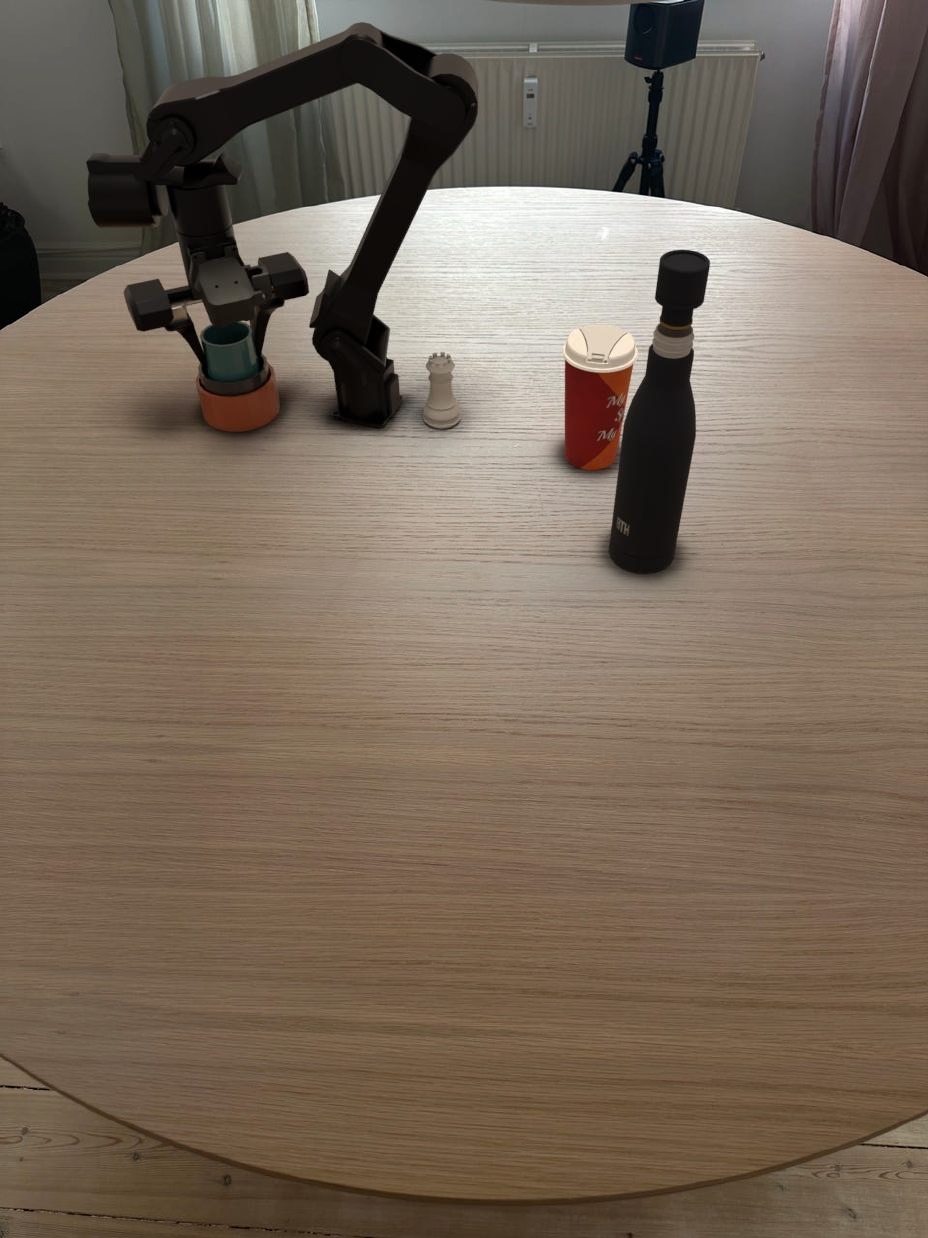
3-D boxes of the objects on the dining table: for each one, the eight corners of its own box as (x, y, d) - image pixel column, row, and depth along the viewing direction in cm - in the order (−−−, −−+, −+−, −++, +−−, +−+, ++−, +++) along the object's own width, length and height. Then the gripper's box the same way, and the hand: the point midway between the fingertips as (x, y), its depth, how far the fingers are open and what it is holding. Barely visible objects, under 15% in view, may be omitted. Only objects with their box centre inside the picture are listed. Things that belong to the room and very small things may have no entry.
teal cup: (203, 400, 113) (189, 341, 107) (229, 374, 117) (217, 316, 111) (247, 409, 111) (235, 350, 106) (271, 383, 115) (261, 324, 110)
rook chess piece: (467, 413, 115) (466, 352, 109) (451, 434, 112) (449, 371, 106) (433, 405, 116) (430, 343, 110) (416, 424, 113) (412, 363, 107)
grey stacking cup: (196, 421, 114) (185, 376, 110) (229, 387, 119) (220, 342, 115) (254, 434, 112) (245, 388, 108) (286, 398, 117) (278, 353, 113)
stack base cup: (189, 423, 114) (180, 389, 111) (228, 383, 120) (221, 350, 117) (256, 438, 112) (250, 404, 108) (293, 397, 118) (287, 363, 114)
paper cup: (622, 479, 105) (636, 363, 95) (551, 471, 106) (557, 356, 97) (628, 438, 111) (642, 324, 101) (560, 430, 112) (568, 317, 102)
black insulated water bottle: (679, 538, 98) (733, 247, 77) (667, 579, 94) (720, 284, 73) (616, 525, 100) (652, 236, 79) (601, 565, 96) (635, 272, 74)
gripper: (127, 276, 92) (165, 417, 103) (316, 238, 97) (333, 376, 109) (105, 230, 99) (143, 367, 110) (283, 197, 105) (302, 330, 116)
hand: (231, 361), depth 111 cm, fingers closed on teal cup, 6 cm apart
